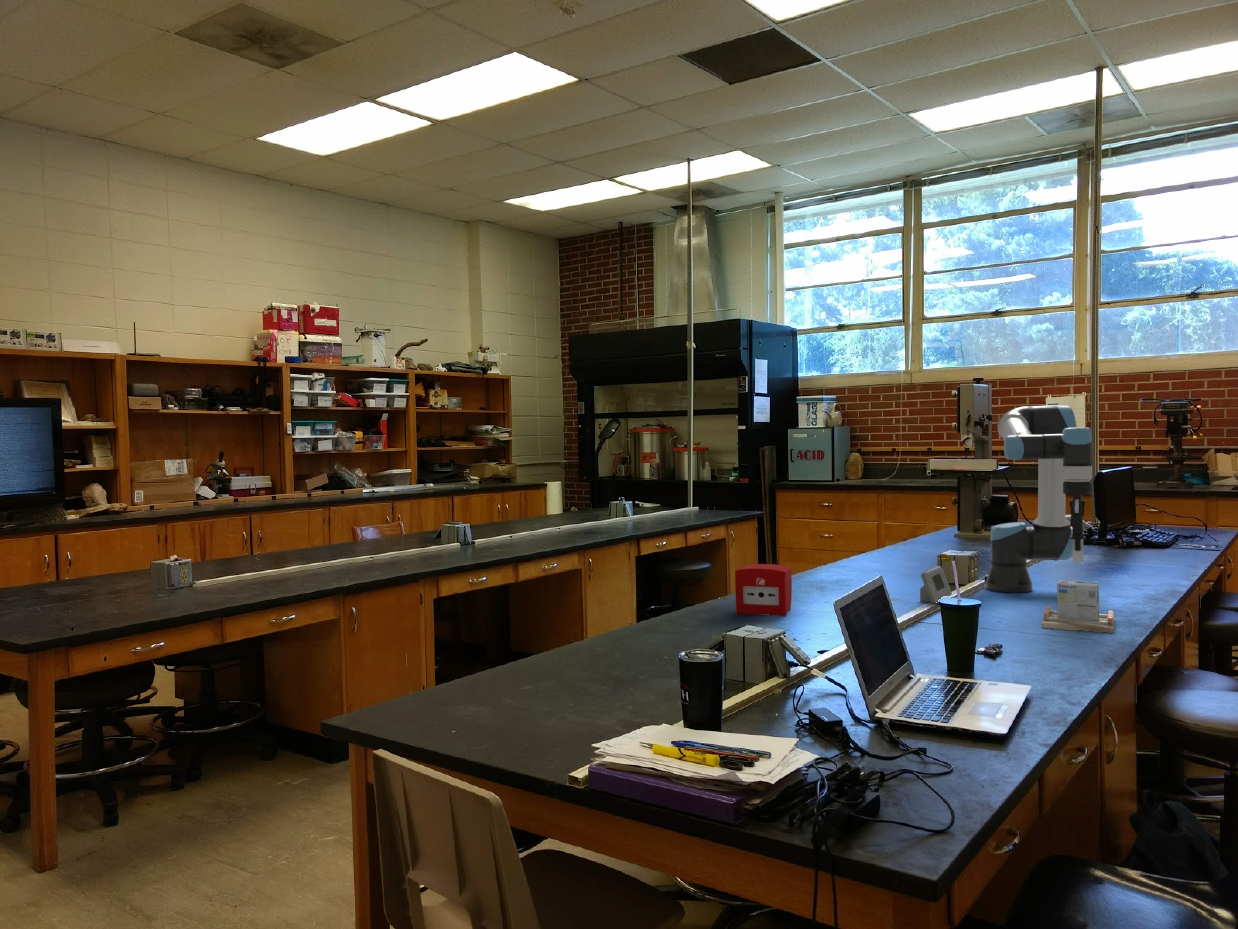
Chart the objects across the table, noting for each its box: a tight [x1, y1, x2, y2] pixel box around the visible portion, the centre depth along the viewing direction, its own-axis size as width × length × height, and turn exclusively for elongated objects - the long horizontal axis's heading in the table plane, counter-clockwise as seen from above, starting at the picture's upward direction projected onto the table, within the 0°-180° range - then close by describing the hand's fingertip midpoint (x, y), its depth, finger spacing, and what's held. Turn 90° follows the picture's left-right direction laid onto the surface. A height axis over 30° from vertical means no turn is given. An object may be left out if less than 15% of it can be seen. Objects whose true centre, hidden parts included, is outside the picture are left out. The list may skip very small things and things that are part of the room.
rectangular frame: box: [1043, 605, 1114, 625], centre depth 257 cm, size 11×18×2 cm, turn 60°
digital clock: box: [919, 565, 952, 604], centre depth 297 cm, size 16×9×11 cm, turn 131°
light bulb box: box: [1056, 579, 1100, 621], centre depth 256 cm, size 11×7×11 cm, turn 60°
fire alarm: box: [734, 563, 793, 617], centre depth 286 cm, size 16×11×15 cm
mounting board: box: [1041, 614, 1115, 634], centre depth 257 cm, size 18×18×2 cm
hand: (1078, 561), depth 256 cm, fingers closed
